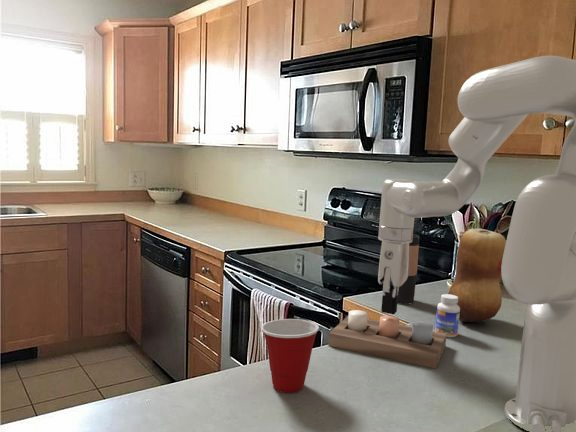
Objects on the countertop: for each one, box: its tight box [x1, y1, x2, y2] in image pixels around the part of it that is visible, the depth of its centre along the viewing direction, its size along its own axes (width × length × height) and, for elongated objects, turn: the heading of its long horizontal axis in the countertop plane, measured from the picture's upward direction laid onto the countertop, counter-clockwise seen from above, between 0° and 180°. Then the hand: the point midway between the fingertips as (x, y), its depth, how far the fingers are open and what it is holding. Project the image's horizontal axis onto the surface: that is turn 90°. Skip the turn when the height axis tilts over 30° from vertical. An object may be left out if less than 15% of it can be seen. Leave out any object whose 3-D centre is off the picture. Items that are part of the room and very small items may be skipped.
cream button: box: [348, 309, 368, 332], centre depth 122 cm, size 4×4×4 cm
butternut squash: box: [447, 227, 507, 324], centre depth 138 cm, size 14×13×25 cm
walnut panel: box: [328, 315, 447, 369], centre depth 119 cm, size 14×24×3 cm, turn 65°
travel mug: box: [396, 233, 420, 305], centre depth 154 cm, size 8×8×20 cm
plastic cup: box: [260, 318, 320, 394], centre depth 97 cm, size 11×11×12 cm
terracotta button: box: [379, 315, 400, 339], centre depth 119 cm, size 4×4×4 cm
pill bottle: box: [434, 293, 460, 338], centre depth 128 cm, size 5×5×10 cm
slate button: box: [411, 321, 434, 345], centre depth 116 cm, size 4×4×4 cm
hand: (388, 312), depth 118 cm, fingers closed
